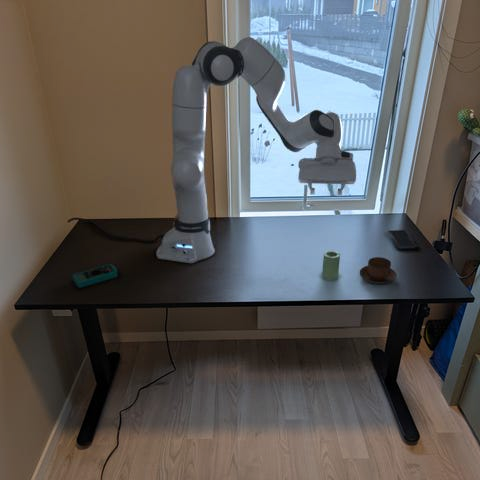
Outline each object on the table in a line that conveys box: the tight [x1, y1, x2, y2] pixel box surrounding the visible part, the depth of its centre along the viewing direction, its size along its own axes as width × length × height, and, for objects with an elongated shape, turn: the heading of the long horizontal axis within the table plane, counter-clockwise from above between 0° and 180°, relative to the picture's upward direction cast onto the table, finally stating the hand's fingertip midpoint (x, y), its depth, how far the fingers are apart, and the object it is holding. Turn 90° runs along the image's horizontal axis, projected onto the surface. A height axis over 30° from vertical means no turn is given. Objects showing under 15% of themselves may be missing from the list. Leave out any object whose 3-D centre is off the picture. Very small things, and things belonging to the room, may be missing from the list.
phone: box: [386, 229, 418, 251], centre depth 180 cm, size 8×1×15 cm
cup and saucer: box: [359, 256, 397, 285], centre depth 156 cm, size 12×12×6 cm
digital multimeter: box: [72, 263, 119, 289], centre depth 163 cm, size 7×15×3 cm, turn 122°
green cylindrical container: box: [321, 250, 341, 281], centre depth 158 cm, size 5×5×8 cm
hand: (325, 194), depth 163 cm, fingers open, 8 cm apart
